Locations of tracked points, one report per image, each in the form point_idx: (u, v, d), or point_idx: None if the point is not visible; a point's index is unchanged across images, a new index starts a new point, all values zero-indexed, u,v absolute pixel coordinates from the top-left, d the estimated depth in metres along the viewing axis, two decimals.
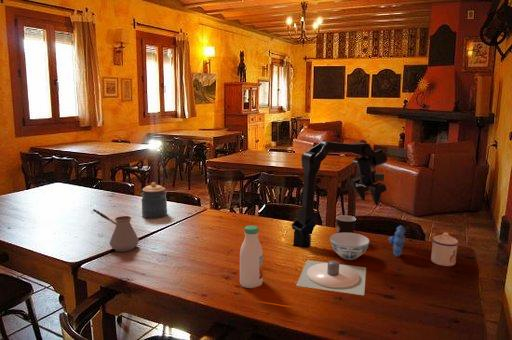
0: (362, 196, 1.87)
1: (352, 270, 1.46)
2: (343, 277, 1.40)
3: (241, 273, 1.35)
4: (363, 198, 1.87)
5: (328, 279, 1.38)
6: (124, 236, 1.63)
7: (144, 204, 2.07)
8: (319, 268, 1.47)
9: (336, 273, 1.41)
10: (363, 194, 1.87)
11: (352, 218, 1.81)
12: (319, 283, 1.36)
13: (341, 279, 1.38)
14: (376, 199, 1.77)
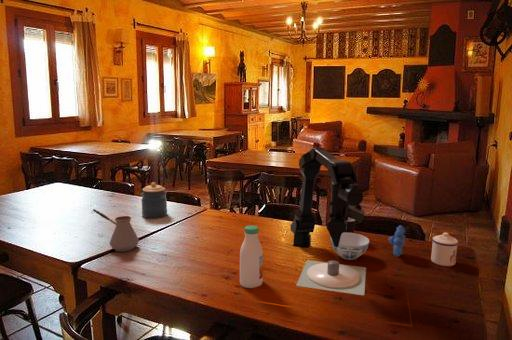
0: None
1: (352, 270, 1.46)
2: (343, 277, 1.40)
3: (241, 273, 1.35)
4: None
5: (328, 279, 1.38)
6: (124, 236, 1.63)
7: (144, 204, 2.07)
8: (319, 268, 1.47)
9: (336, 273, 1.41)
10: None
11: None
12: (319, 283, 1.36)
13: (341, 279, 1.38)
14: (334, 238, 1.35)
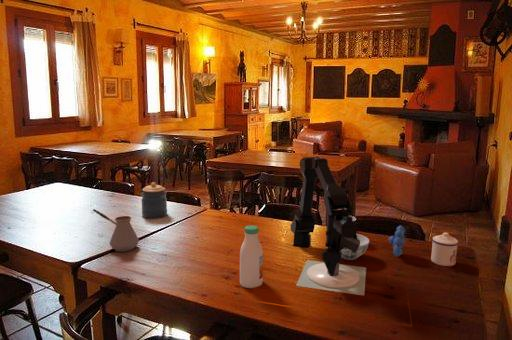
0: None
1: (352, 270, 1.46)
2: (343, 277, 1.40)
3: (241, 273, 1.35)
4: None
5: (328, 279, 1.38)
6: (124, 236, 1.63)
7: (144, 204, 2.07)
8: (319, 268, 1.47)
9: (336, 273, 1.41)
10: None
11: (352, 218, 1.81)
12: (319, 283, 1.36)
13: (341, 279, 1.38)
14: (329, 268, 1.37)
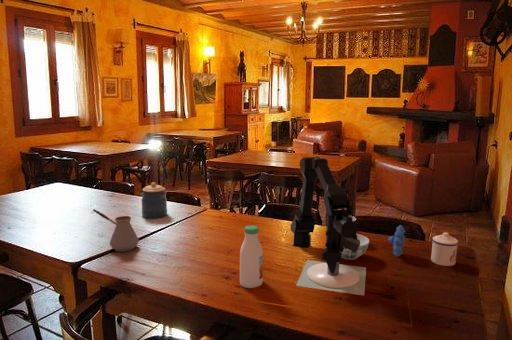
0: None
1: (352, 270, 1.46)
2: (343, 277, 1.40)
3: (241, 273, 1.35)
4: None
5: (328, 279, 1.38)
6: (124, 236, 1.63)
7: (144, 204, 2.07)
8: (319, 268, 1.47)
9: (336, 273, 1.41)
10: None
11: (352, 218, 1.81)
12: (319, 283, 1.36)
13: (341, 279, 1.38)
14: (330, 265, 1.39)
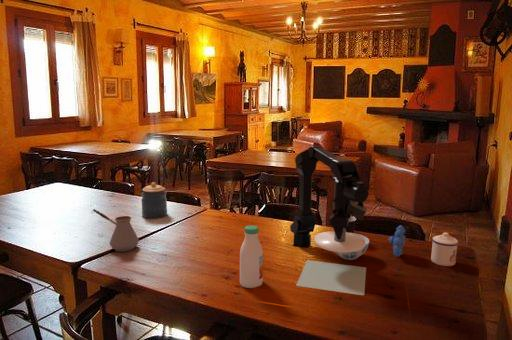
0: None
1: (358, 237, 1.50)
2: (349, 243, 1.45)
3: (241, 273, 1.35)
4: None
5: (335, 244, 1.43)
6: (124, 236, 1.63)
7: (144, 204, 2.07)
8: (326, 235, 1.52)
9: (343, 239, 1.46)
10: None
11: (352, 218, 1.81)
12: (326, 248, 1.41)
13: (347, 245, 1.43)
14: (337, 231, 1.44)
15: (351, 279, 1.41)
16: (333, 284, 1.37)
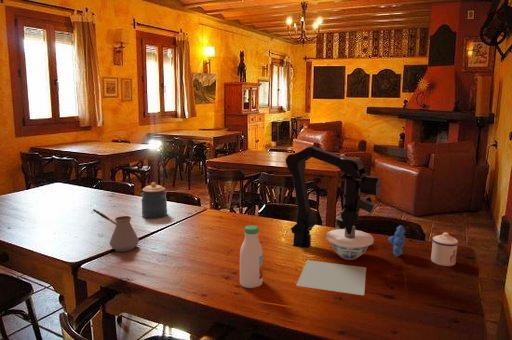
0: None
1: (366, 234, 1.62)
2: (359, 239, 1.57)
3: (241, 273, 1.35)
4: None
5: (345, 240, 1.55)
6: (124, 236, 1.63)
7: (144, 204, 2.07)
8: (337, 232, 1.64)
9: (352, 236, 1.58)
10: None
11: None
12: (338, 243, 1.53)
13: (357, 240, 1.55)
14: (347, 226, 1.54)
15: (351, 279, 1.41)
16: (333, 284, 1.37)
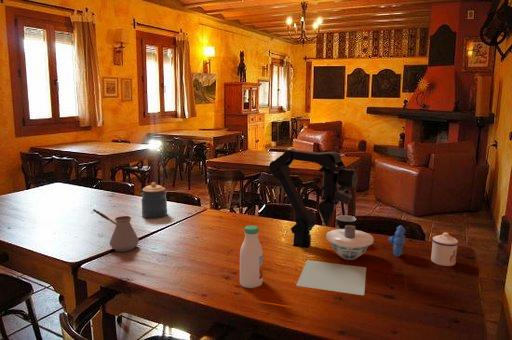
0: None
1: (366, 234, 1.62)
2: (359, 239, 1.57)
3: (241, 273, 1.35)
4: (329, 216, 1.68)
5: (345, 240, 1.55)
6: (124, 236, 1.63)
7: (144, 204, 2.07)
8: (337, 232, 1.64)
9: (352, 236, 1.58)
10: None
11: (352, 218, 1.81)
12: (338, 243, 1.53)
13: (357, 240, 1.55)
14: (324, 217, 1.58)
15: (351, 279, 1.41)
16: (333, 284, 1.37)
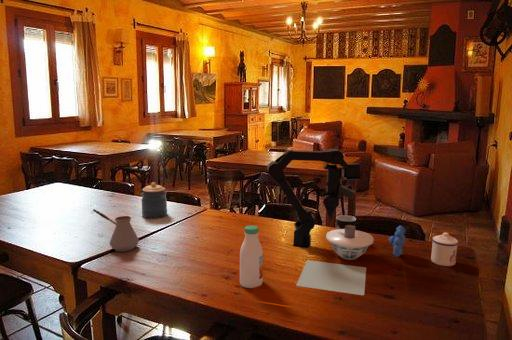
0: None
1: (366, 234, 1.62)
2: (359, 239, 1.57)
3: (241, 273, 1.35)
4: None
5: (345, 240, 1.55)
6: (124, 236, 1.63)
7: (144, 204, 2.07)
8: (337, 232, 1.64)
9: (352, 236, 1.58)
10: None
11: (352, 218, 1.81)
12: (338, 243, 1.53)
13: (357, 240, 1.55)
14: (329, 212, 1.65)
15: (351, 279, 1.41)
16: (333, 284, 1.37)
